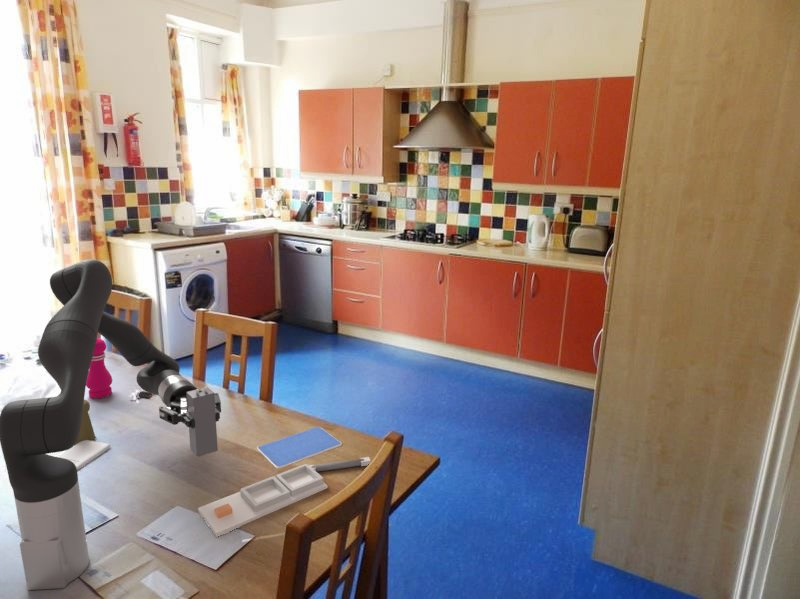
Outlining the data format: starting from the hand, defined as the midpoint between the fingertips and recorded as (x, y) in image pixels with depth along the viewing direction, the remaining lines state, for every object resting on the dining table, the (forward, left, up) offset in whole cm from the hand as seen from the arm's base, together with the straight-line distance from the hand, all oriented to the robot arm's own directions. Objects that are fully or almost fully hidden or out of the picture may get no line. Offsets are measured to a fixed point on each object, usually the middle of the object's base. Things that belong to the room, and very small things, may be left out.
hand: (205, 420), depth 114 cm
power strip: (-4, -13, -18) cm, 22 cm away
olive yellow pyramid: (+25, +38, -18) cm, 49 cm away
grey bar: (+7, -29, -17) cm, 34 cm away
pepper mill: (+53, +45, -18) cm, 72 cm away
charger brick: (+2, +1, -8) cm, 8 cm away
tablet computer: (+18, -19, -18) cm, 32 cm away
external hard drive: (+16, +35, -18) cm, 43 cm away
